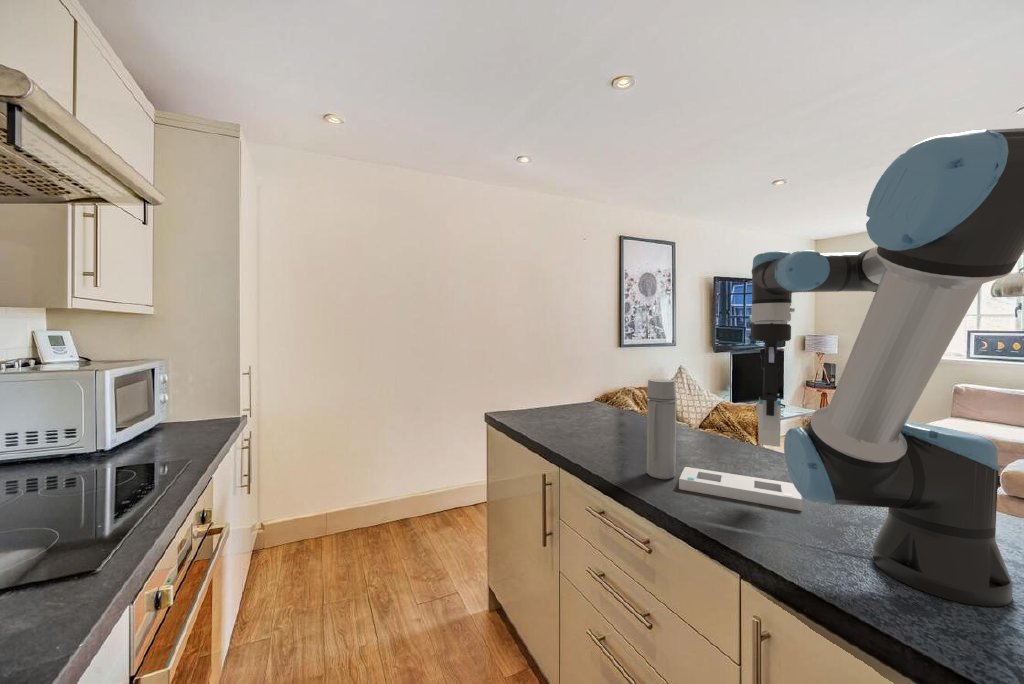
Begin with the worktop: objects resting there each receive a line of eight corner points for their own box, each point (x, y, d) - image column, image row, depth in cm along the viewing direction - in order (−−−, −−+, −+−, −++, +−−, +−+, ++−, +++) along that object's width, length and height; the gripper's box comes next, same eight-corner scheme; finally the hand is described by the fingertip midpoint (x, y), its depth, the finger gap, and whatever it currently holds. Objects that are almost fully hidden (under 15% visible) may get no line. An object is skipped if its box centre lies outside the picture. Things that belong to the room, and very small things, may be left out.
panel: (801, 513, 87) (802, 498, 87) (678, 491, 99) (679, 478, 99) (797, 497, 96) (797, 483, 96) (684, 478, 108) (685, 466, 108)
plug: (780, 446, 91) (780, 400, 91) (755, 443, 93) (756, 399, 93) (779, 442, 94) (779, 398, 94) (755, 439, 97) (756, 396, 96)
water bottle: (653, 468, 115) (654, 378, 114) (681, 475, 109) (683, 380, 109) (636, 477, 108) (637, 380, 108) (665, 485, 103) (666, 383, 102)
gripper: (794, 322, 84) (792, 438, 84) (788, 323, 99) (786, 422, 99) (751, 322, 88) (749, 433, 88) (751, 324, 102) (750, 419, 103)
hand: (769, 427), depth 94 cm, fingers closed on plug, 4 cm apart
